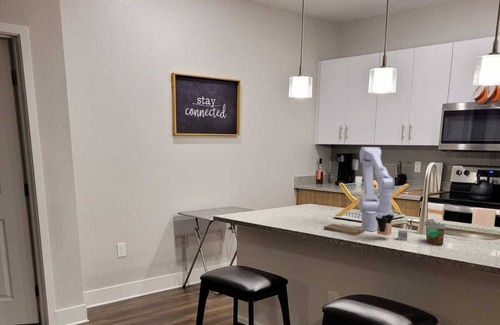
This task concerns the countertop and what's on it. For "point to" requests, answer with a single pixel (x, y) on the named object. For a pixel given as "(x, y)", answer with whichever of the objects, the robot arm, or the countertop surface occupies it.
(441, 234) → the food container
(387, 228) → the cube
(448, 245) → the countertop surface
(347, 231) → the board
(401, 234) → the grey block
